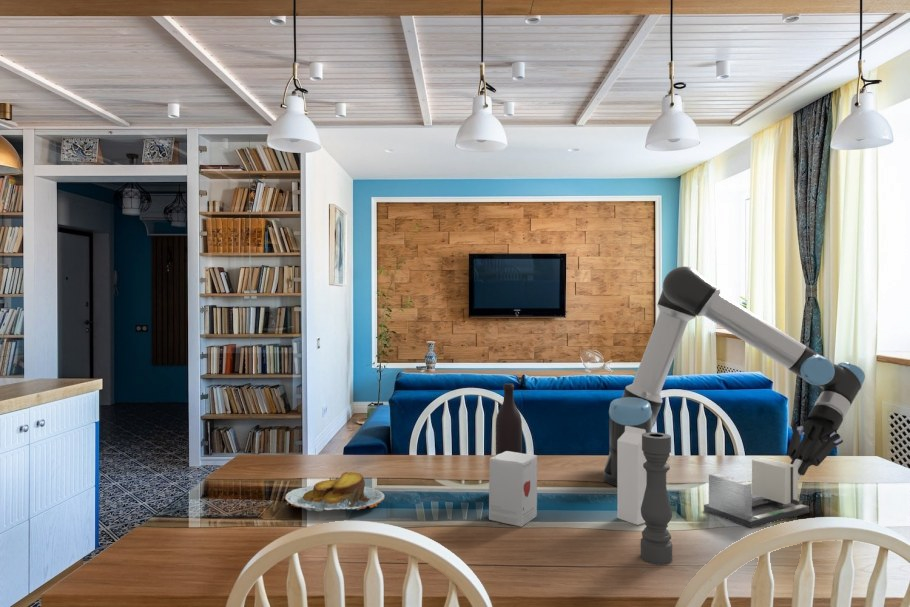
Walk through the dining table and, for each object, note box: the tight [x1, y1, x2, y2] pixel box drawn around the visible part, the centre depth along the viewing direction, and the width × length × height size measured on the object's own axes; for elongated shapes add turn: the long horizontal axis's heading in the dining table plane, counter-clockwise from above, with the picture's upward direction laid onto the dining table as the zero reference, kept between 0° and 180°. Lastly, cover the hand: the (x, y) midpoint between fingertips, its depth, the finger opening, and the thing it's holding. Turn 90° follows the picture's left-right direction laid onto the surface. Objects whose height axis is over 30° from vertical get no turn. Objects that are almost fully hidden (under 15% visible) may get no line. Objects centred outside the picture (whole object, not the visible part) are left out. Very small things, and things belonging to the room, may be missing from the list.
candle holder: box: [640, 431, 673, 566], centre depth 124 cm, size 6×6×25 cm
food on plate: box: [284, 471, 386, 512], centre depth 158 cm, size 25×25×7 cm
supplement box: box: [488, 451, 538, 528], centre depth 147 cm, size 9×9×15 cm
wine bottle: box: [495, 383, 523, 456], centre depth 165 cm, size 7×7×30 cm
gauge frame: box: [703, 472, 810, 529], centre depth 152 cm, size 22×13×10 cm, turn 118°
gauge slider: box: [751, 457, 800, 505], centre depth 154 cm, size 5×11×9 cm, turn 28°
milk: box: [616, 426, 647, 526], centre depth 147 cm, size 6×6×22 cm
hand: (789, 482), depth 157 cm, fingers closed
